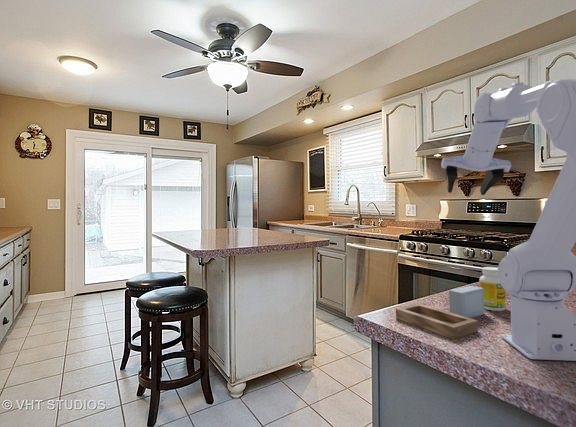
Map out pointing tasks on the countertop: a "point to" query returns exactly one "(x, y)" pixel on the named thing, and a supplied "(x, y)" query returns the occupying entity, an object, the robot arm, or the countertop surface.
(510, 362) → the countertop surface
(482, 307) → the grey rectangular block
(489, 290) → the supplement bottle
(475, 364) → the countertop surface
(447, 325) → the wooden tray
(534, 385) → the countertop surface
